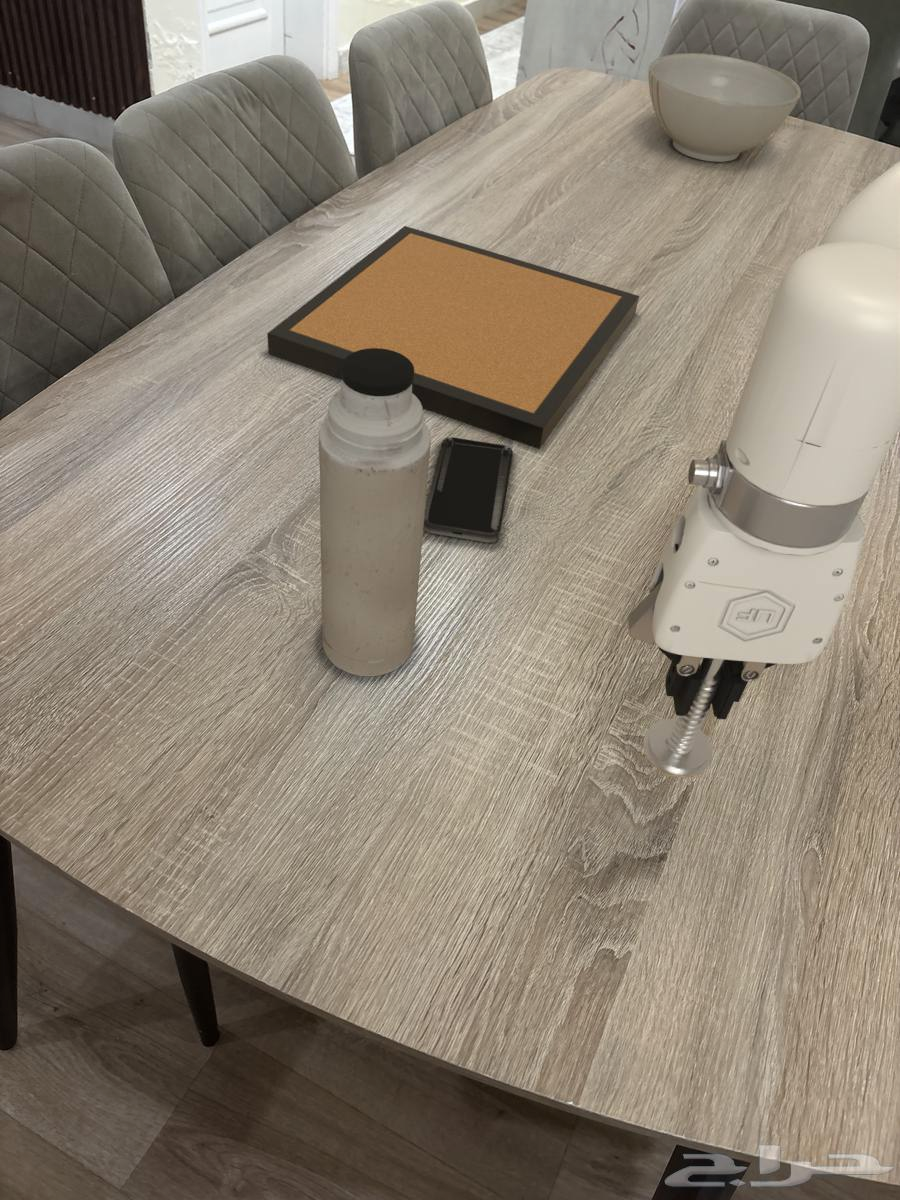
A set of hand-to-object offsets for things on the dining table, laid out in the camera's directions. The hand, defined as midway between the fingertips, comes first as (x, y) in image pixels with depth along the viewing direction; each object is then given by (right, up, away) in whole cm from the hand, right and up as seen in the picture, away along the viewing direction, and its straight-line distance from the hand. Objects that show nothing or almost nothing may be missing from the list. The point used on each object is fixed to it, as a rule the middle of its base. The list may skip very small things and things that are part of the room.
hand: (697, 699), depth 63 cm
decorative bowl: (+31, +90, +111) cm, 147 cm away
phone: (-15, +18, +36) cm, 42 cm away
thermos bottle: (-24, +3, +20) cm, 31 cm away
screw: (-1, -5, +6) cm, 8 cm away
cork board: (-15, +41, +58) cm, 72 cm away
